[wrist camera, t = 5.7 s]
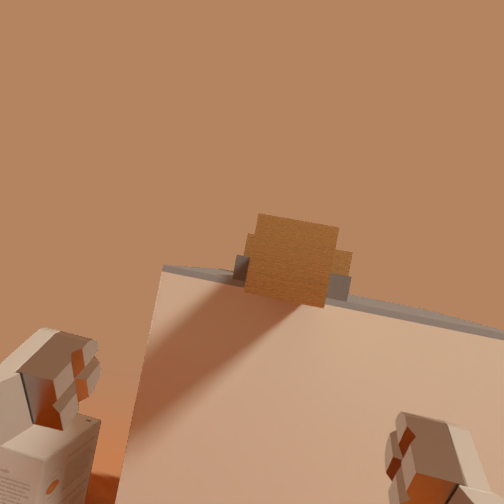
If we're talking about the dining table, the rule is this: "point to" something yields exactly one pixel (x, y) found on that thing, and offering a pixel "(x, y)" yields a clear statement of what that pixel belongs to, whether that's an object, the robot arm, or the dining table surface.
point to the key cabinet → (297, 393)
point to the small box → (49, 463)
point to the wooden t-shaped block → (293, 260)
